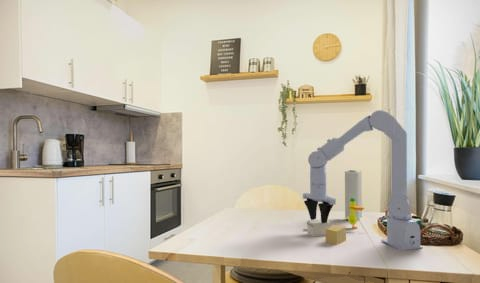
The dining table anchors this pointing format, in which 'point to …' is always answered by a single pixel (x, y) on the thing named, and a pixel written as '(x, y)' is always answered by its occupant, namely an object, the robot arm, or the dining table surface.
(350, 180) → the paper towel roll
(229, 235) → the dining table surface
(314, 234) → the cream brick
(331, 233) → the ochre brick
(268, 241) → the dining table surface
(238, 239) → the dining table surface
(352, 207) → the toy figure
